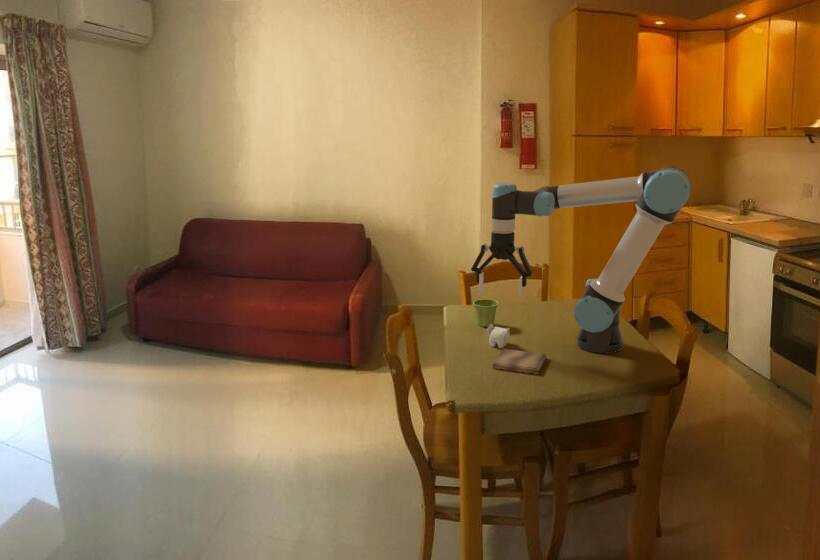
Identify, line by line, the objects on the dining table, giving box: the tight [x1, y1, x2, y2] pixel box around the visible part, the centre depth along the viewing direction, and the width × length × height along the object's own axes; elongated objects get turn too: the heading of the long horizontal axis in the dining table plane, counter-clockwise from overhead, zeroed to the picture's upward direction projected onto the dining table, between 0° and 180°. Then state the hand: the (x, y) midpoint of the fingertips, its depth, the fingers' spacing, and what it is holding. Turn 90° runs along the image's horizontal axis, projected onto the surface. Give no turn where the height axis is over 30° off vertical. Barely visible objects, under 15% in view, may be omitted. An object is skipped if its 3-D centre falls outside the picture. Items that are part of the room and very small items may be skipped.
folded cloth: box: [492, 348, 547, 374], centre depth 199 cm, size 14×14×2 cm
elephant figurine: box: [485, 324, 511, 349], centre depth 215 cm, size 8×10×7 cm
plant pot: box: [472, 298, 500, 328], centre depth 235 cm, size 9×9×9 cm
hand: (500, 293), depth 211 cm, fingers open, 13 cm apart
